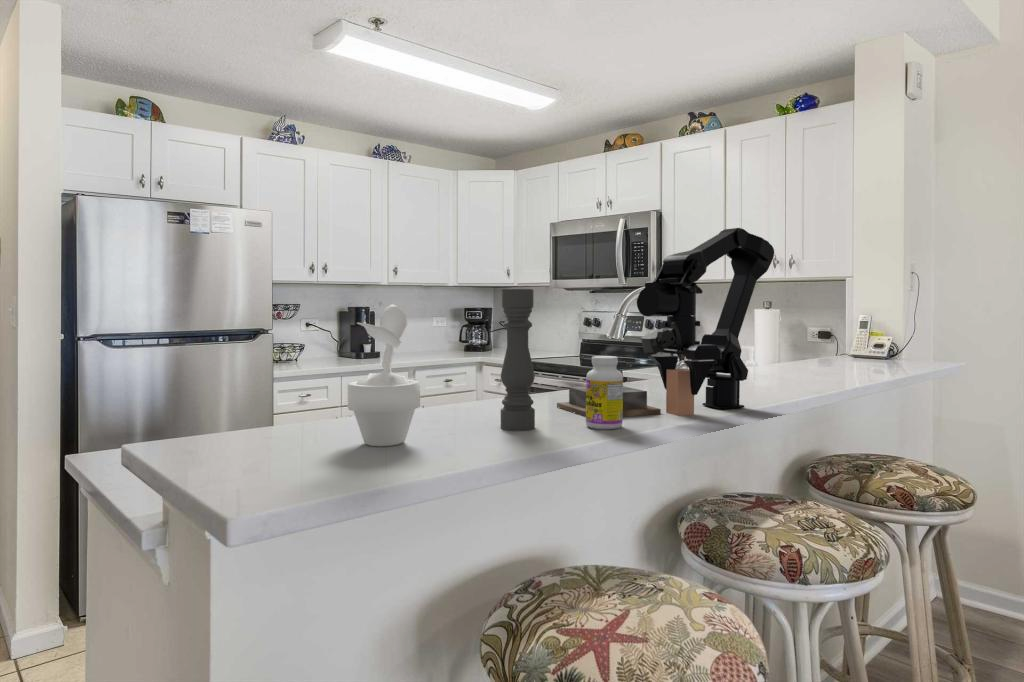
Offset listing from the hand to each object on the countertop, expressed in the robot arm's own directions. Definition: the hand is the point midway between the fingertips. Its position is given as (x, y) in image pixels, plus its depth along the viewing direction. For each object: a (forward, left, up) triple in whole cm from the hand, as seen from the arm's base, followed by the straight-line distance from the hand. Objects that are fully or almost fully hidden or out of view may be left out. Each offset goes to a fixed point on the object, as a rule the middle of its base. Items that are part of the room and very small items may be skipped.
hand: (680, 392), depth 135 cm
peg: (0, 0, -5) cm, 5 cm away
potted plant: (+63, +9, -5) cm, 63 cm away
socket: (+12, -9, -4) cm, 16 cm away
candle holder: (+37, +3, -5) cm, 37 cm away
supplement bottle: (+22, +8, -5) cm, 24 cm away
